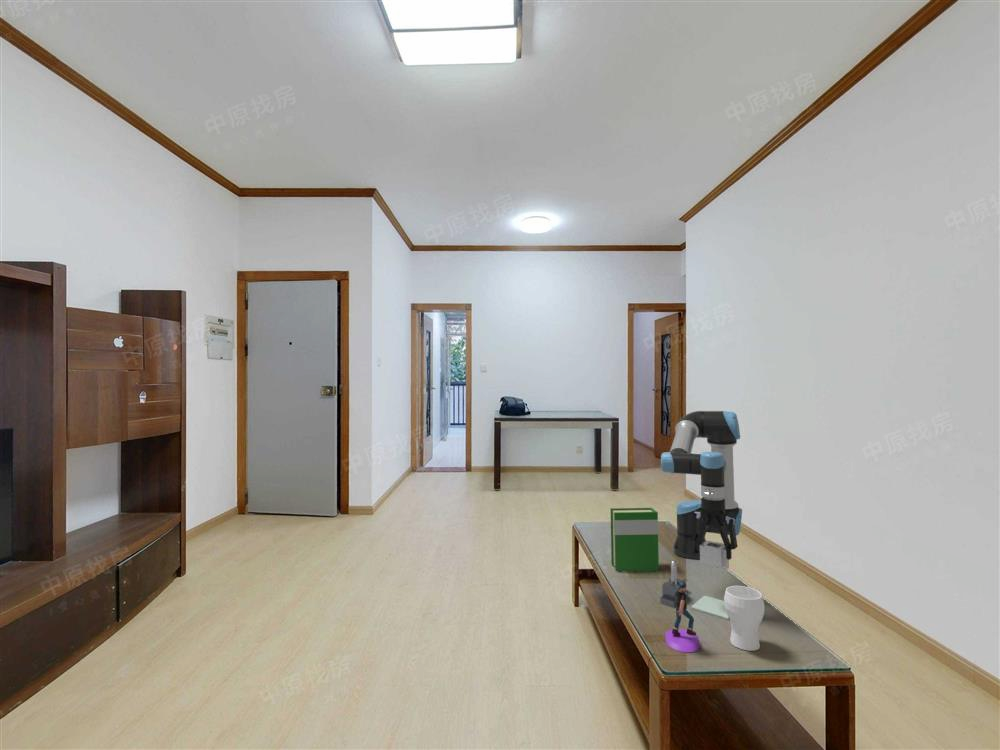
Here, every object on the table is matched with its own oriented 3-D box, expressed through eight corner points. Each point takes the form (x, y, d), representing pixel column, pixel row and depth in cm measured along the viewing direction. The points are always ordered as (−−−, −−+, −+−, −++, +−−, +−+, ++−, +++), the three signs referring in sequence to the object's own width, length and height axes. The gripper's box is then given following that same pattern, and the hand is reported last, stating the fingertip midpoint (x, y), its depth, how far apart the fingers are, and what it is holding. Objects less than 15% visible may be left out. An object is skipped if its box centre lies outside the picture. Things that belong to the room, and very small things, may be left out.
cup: (717, 635, 146) (716, 585, 147) (751, 633, 147) (749, 584, 147) (738, 655, 136) (736, 601, 136) (773, 652, 137) (772, 599, 137)
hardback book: (615, 571, 197) (614, 512, 197) (611, 565, 204) (610, 508, 205) (658, 571, 197) (657, 512, 198) (653, 564, 204) (651, 507, 205)
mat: (704, 597, 173) (704, 595, 173) (740, 607, 164) (739, 605, 164) (690, 608, 164) (690, 606, 164) (727, 620, 156) (727, 618, 156)
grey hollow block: (707, 557, 169) (707, 540, 169) (728, 562, 164) (728, 544, 165) (700, 563, 164) (699, 545, 164) (721, 568, 159) (721, 549, 160)
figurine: (706, 649, 139) (704, 586, 139) (677, 654, 137) (675, 590, 137) (687, 633, 148) (685, 574, 148) (659, 637, 146) (658, 577, 146)
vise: (678, 589, 180) (678, 552, 180) (692, 593, 176) (691, 555, 176) (660, 603, 168) (659, 564, 169) (674, 607, 165) (673, 567, 165)
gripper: (679, 495, 169) (681, 561, 168) (740, 504, 155) (742, 576, 155) (688, 492, 175) (689, 555, 174) (747, 500, 161) (749, 569, 160)
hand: (714, 565), depth 164 cm, fingers closed on grey hollow block, 7 cm apart
